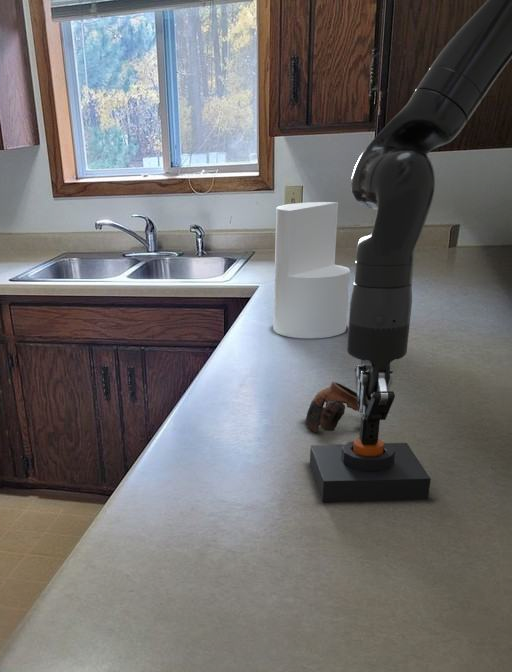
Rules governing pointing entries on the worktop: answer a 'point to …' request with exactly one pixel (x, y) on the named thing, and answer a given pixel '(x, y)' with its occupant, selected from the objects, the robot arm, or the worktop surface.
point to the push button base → (368, 474)
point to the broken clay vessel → (330, 407)
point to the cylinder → (309, 272)
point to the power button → (368, 448)
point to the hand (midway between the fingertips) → (368, 442)
